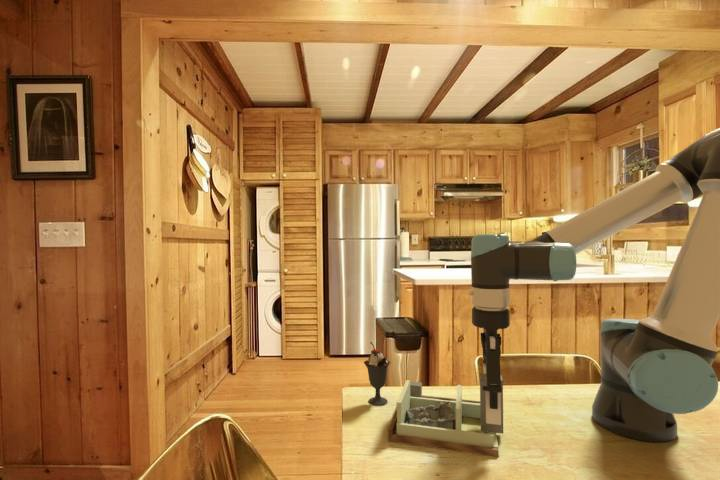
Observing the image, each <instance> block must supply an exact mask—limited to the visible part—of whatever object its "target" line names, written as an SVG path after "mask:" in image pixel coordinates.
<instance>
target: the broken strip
mask: <svg viewBox="0 0 720 480" xmlns="http://www.w3.org/2000/svg"><path fill="white" fill-rule="evenodd" d="M422 395H423V384H422V382H419V381H412V380H410V396H411V397H420V398H423V397H422ZM430 399H432V398H430ZM467 403H470V402H467ZM477 404H480V403H477Z"/></svg>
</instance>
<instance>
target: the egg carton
mask: <svg viewBox="0 0 720 480" xmlns="http://www.w3.org/2000/svg"><path fill="white" fill-rule="evenodd" d="M406 412H407V422H406V424H414V425H422V426H430V427H438V428H446V429H454V430H456V415H455V414H454V413H453V410H452V407H451V405H450V403H449V401H447V402H445V401H443V402H438V403H437V402H436V404H435V405H429V406H426V407H417V408H414V409H413V408H412V409H411V408H407V411H406Z"/></svg>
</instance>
